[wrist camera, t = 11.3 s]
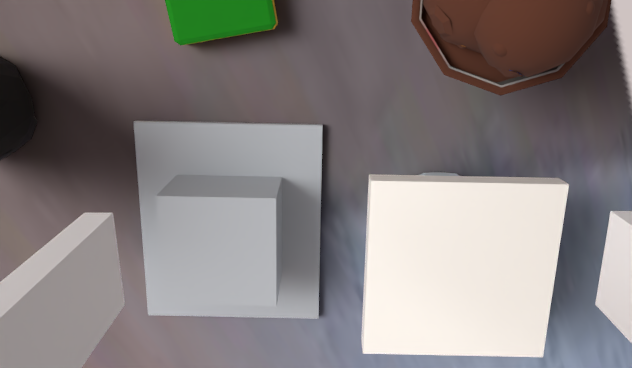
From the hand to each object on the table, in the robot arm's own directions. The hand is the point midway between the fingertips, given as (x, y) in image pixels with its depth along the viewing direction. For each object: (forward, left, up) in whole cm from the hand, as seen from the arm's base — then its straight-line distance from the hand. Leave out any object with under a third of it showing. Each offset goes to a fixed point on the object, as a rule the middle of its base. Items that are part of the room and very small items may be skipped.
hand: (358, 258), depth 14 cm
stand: (+9, -8, -27) cm, 29 cm away
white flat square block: (+9, +8, -20) cm, 23 cm away
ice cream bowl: (-8, +9, -27) cm, 30 cm away
